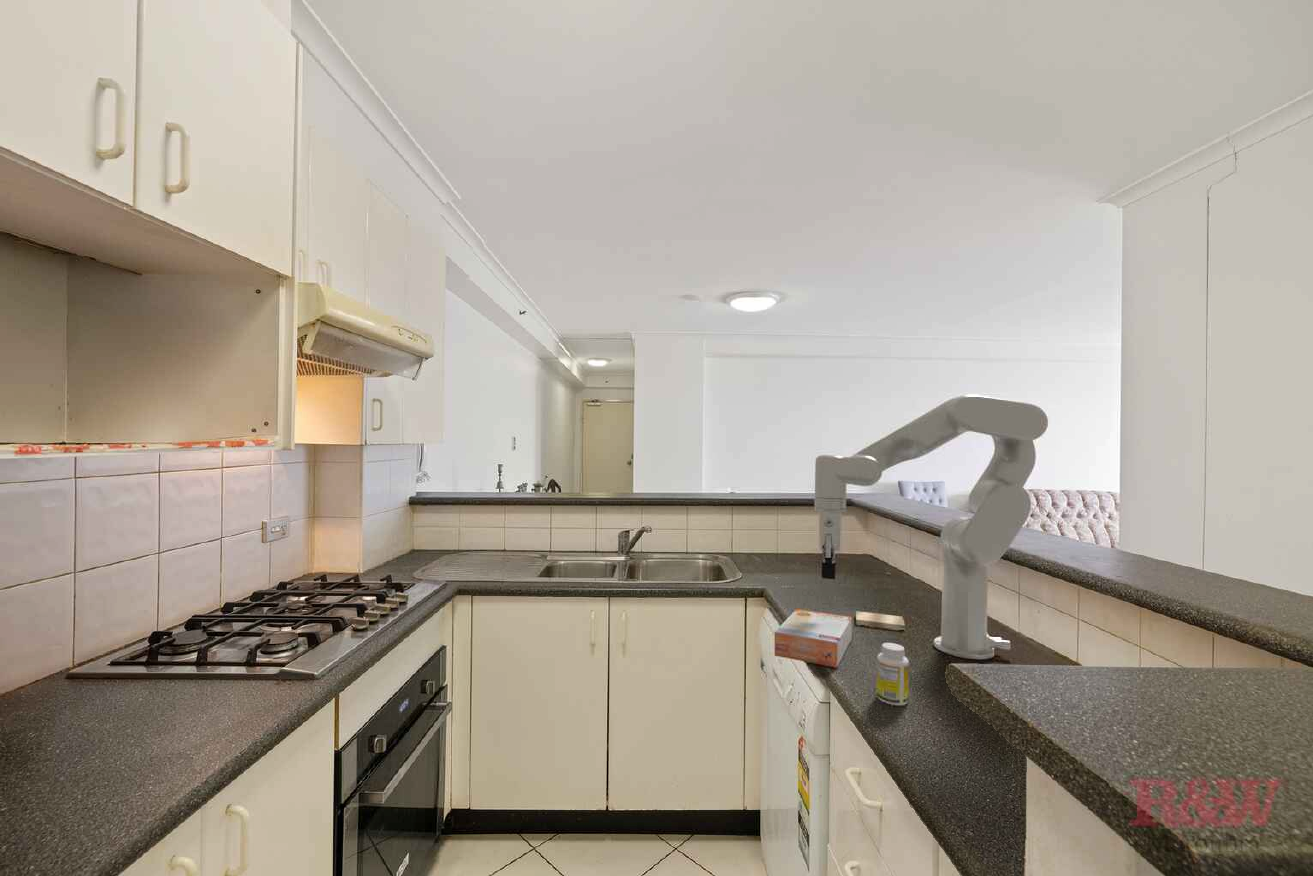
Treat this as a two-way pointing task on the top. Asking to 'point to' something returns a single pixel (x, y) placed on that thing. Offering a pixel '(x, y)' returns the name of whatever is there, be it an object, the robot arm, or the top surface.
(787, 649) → the cracker box
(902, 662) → the supplement bottle
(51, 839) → the top surface
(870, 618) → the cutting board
